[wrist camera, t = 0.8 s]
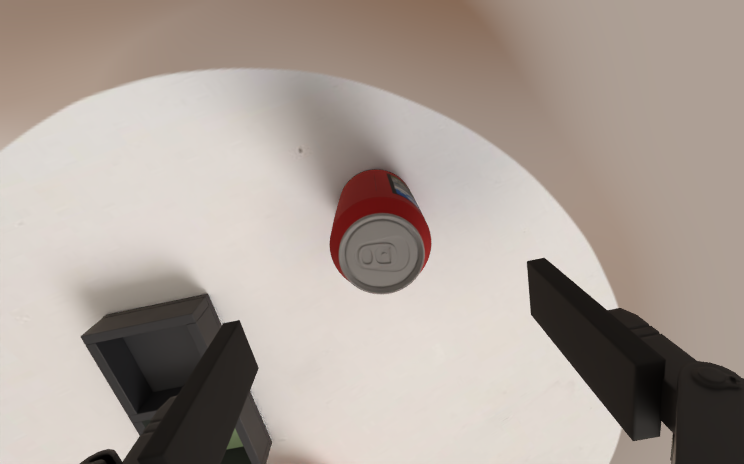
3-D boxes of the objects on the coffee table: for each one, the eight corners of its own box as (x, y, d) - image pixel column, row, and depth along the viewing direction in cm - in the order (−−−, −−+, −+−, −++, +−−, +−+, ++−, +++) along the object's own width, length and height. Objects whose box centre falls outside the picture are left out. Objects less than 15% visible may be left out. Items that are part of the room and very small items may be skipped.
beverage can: (412, 235, 34) (437, 300, 23) (342, 240, 34) (332, 307, 23) (410, 164, 32) (436, 199, 21) (335, 170, 32) (320, 207, 21)
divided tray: (106, 314, 37) (79, 336, 33) (208, 293, 36) (192, 313, 33) (185, 458, 44) (170, 487, 40) (272, 442, 43) (264, 471, 40)
